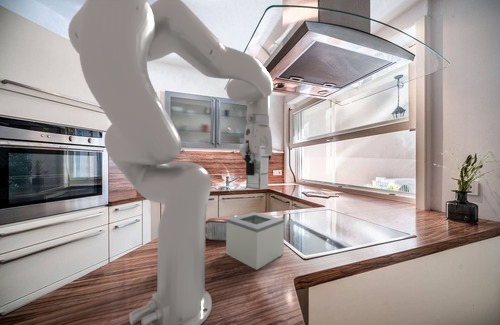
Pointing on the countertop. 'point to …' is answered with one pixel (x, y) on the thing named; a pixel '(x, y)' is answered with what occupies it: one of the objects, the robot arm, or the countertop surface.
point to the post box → (255, 239)
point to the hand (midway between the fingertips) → (257, 174)
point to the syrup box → (259, 171)
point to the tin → (216, 229)
